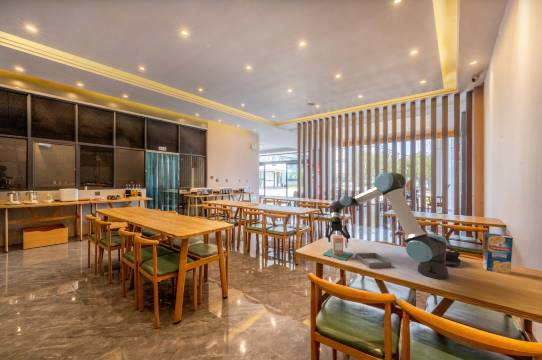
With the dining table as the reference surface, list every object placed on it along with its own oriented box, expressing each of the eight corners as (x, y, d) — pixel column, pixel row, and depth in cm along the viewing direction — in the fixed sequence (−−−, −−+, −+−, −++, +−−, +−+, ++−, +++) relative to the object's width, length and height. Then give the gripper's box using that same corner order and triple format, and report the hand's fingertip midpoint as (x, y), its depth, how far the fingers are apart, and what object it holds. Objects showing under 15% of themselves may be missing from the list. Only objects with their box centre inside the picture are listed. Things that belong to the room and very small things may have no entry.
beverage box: (510, 274, 139) (513, 237, 139) (486, 270, 144) (488, 235, 144) (505, 270, 145) (508, 235, 145) (482, 266, 151) (484, 232, 150)
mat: (352, 254, 167) (352, 253, 167) (345, 260, 154) (345, 259, 154) (331, 249, 177) (331, 248, 177) (322, 255, 164) (322, 254, 164)
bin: (390, 266, 146) (391, 262, 146) (369, 267, 144) (369, 263, 144) (374, 257, 163) (375, 252, 163) (355, 257, 161) (355, 253, 160)
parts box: (341, 252, 168) (341, 235, 168) (342, 255, 162) (343, 238, 162) (332, 251, 169) (333, 235, 168) (334, 254, 163) (334, 237, 162)
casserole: (423, 252, 175) (424, 241, 174) (453, 256, 168) (454, 245, 168) (432, 264, 152) (433, 252, 151) (468, 269, 145) (469, 256, 144)
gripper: (350, 222, 179) (354, 250, 164) (320, 221, 181) (321, 248, 166) (351, 217, 173) (356, 245, 158) (321, 216, 176) (322, 243, 161)
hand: (338, 246), depth 162 cm, fingers open, 10 cm apart
